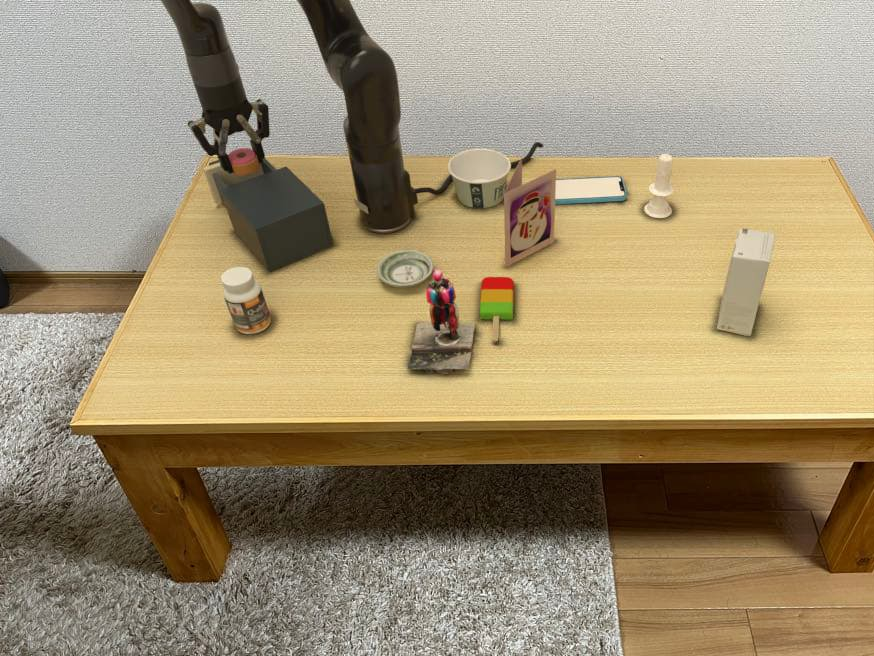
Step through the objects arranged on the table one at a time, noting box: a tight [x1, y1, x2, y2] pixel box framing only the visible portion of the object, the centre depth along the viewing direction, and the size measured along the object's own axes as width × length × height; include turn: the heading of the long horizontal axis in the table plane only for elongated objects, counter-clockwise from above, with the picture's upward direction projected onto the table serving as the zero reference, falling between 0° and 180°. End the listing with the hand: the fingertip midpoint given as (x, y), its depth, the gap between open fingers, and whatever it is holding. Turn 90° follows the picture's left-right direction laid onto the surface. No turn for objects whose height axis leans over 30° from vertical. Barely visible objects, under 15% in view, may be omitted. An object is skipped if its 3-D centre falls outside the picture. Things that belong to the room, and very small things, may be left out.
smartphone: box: [555, 175, 627, 205], centre depth 151 cm, size 8×1×15 cm
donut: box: [227, 147, 260, 175], centre depth 139 cm, size 5×5×3 cm
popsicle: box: [479, 276, 515, 342], centre depth 127 cm, size 6×15×2 cm, turn 0°
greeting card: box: [503, 157, 557, 268], centre depth 134 cm, size 11×7×15 cm, turn 131°
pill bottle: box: [220, 266, 272, 335], centre depth 121 cm, size 6×6×10 cm
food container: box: [447, 148, 512, 209], centre depth 148 cm, size 12×12×6 cm
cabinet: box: [220, 166, 335, 273], centre depth 137 cm, size 15×13×9 cm
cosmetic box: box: [716, 227, 776, 337], centre depth 122 cm, size 8×6×15 cm
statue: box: [406, 268, 476, 375], centre depth 117 cm, size 11×9×15 cm
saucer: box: [376, 249, 434, 289], centre depth 133 cm, size 10×10×2 cm
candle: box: [643, 153, 675, 219], centre depth 143 cm, size 5×5×12 cm
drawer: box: [202, 157, 277, 210], centre depth 144 cm, size 18×11×7 cm, turn 38°
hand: (244, 165), depth 139 cm, fingers closed on donut, 5 cm apart
